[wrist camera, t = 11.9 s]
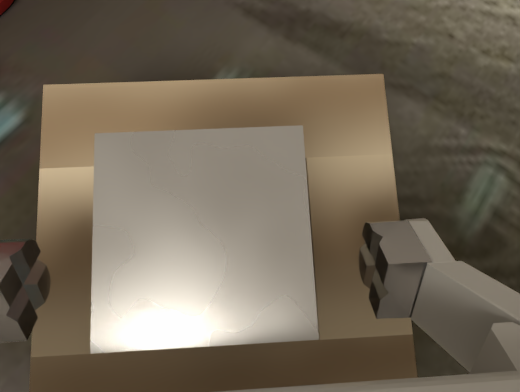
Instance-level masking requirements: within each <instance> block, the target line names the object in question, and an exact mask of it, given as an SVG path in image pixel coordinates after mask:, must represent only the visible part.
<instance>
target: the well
mask: <svg viewBox="0 0 520 392" xmlns="http://www.w3.org/2000/svg"><path fill="white" fill-rule="evenodd" d="M298 125H303V134H304V147H305V160H306V174H307V187H308V200H309V214H310V227H311V240H312V254H313V267H314V280H315V294H316V307H317V320H318V334H319V340H306V341H290V342H273V343H257V344H241V345H224V346H208V347H191V348H175V349H159V350H142V351H126V352H110V353H93V354H90V333H91V284H92V236H93V187H94V139H95V133H116V132H142V131H168V130H194V129H220V128H246V127H272V126H298ZM397 220H400V217H399V208H398V199H397V190H396V182H395V173H394V164H393V155H392V146H391V138H390V129H389V120H388V111H387V102H386V94H385V85H384V76H383V74H364V75H333V76H303V77H272V78H242V79H211V80H180V81H150V82H119V83H88V84H58V85H43V105H42V127H41V149H40V170H39V192H38V214H37V235H36V242H37V244H38V247H39V249H40V251H41V252H40V254H39V256H38V258H37V259H39V260H40V261H41V262H43V263H44V264H46V265H47V267H48V270H49V272H50V279H51V284H50V292H49V295H48V297H47V299H46V302H45V303H44V304H43V305H41V306H40V307H39V308H37V309H36V310H35V312H36V314H37V316H38V319H37V321H36V323H35V325H34V327H33V329H32V344H31V365H30V387H29V392H217V391H232V390H246V389H260V388H274V387H289V386H303V385H317V384H332V383H346V382H360V381H375V380H389V379H404V378H418V375H417V366H416V358H415V349H414V340H413V331H412V322H411V318H385V319H376V316H375V314H374V311H373V308H372V306H371V303H370V301H369V298H368V297H369V292H370V289H369V288H368V287H367V286H365V285H364V284H363V281H362V279H361V275H360V271H359V251H360V248H361V247H362V246H363V245H364V244H365V241H364V238H363V236H362V232H363V227H364V225H365V223H366V222H379V221H397Z"/></svg>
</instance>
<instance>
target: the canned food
mask: <svg viewBox="0 0 520 392" xmlns="http://www.w3.org/2000/svg"><path fill="white" fill-rule="evenodd" d="M13 1H14V0H0V15H1V14H2V13H3V12H4V11H5V10H6V9H7V8H8V7H9V6H10V5H11V4H12V2H13Z"/></svg>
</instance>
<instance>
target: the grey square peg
mask: <svg viewBox="0 0 520 392" xmlns="http://www.w3.org/2000/svg"><path fill="white" fill-rule="evenodd" d="M306 340H319V334H318V320H317V307H316V294H315V280H314V267H313V254H312V240H311V227H310V214H309V200H308V187H307V174H306V160H305V147H304V134H303V125H298V126H272V127H246V128H220V129H194V130H168V131H142V132H116V133H95V139H94V187H93V236H92V284H91V333H90V354H93V353H110V352H126V351H142V350H159V349H175V348H191V347H208V346H224V345H241V344H257V343H273V342H290V341H306Z"/></svg>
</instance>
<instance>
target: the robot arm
mask: <svg viewBox="0 0 520 392" xmlns="http://www.w3.org/2000/svg"><path fill="white" fill-rule="evenodd" d="M362 236H363V238H364V241H365V244H364V245H363V246H362V247H361V248H360V251H359V271H360V275H361V279H362V281H363V284H364V285H365V286H367V287H368V288H369V289H370V292H369V297H368V298H369V301H370V303H371V306H372V308H373V311H374V314H375V316H376V319H385V318H411V320H412V321H413V322H414V323H415V324H416V325H418V326H419V327H420V328H421V329H422V330H423V331H424V332H425V333H426V334H428V335H429V336H430V337H431V338H432V339H433V340H434V341H435V342H436V343H437V344H439V345H440V346H441V347H442V348H443V349H444V350H445V351H446V352H447V353H449V354H450V355H451V356H452V357H453V358H454V359H455V360H456V361H457V362H459V363H460V364H461V365H462V366H463V367H464V368H465V369H466V370H467V371H468V372H470V374H462V375H447V376H433V377H418V378H404V379H389V380H375V381H360V382H346V383H332V384H317V385H303V386H289V387H274V388H260V389H246V390H232V391H217V392H520V294H519V293H518V292H516V291H514V290H512V289H511V288H509V287H507V286H505V285H504V284H502V283H500V282H498V281H496V280H495V279H493V278H491V277H489V276H488V275H486V274H484V273H482V272H481V271H479V270H477V269H475V268H473V267H472V266H470V265H468V264H466V263H465V262H463V261H455V259H454V258H453V256H452V255H451V253H450V252H449V250H448V249H447V247H446V246H445V244H444V243H443V241H442V240H441V238H440V237H439V236H438V234H437V233H436V231H435V230H434V228H433V227H432V225H431V224H430V222H429V221H428V220H427V219H425V218H418V219H405V220H397V221H379V222H366V223H365V225H364V227H363V232H362ZM40 252H41V251H40V249H39V247H38V244H37V242H36V241H34V240H31V239H19V240H0V343H5V342H16V341H27V340H28V337H29V335H30V333H31V331H32V329H33V327H34V325H35V323H36V321H37V319H38V316H37V314H36V312H35V310H36V309H37V308H39V307H40V306H41V305H43V304H44V303H45V302H46V299H47V297H48V295H49V292H50V284H51V279H50V272H49V270H48V267H47V265H46V264H44V263H43V262H41V261H40V260H39V259H37V258H38V256H39V254H40Z"/></svg>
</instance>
